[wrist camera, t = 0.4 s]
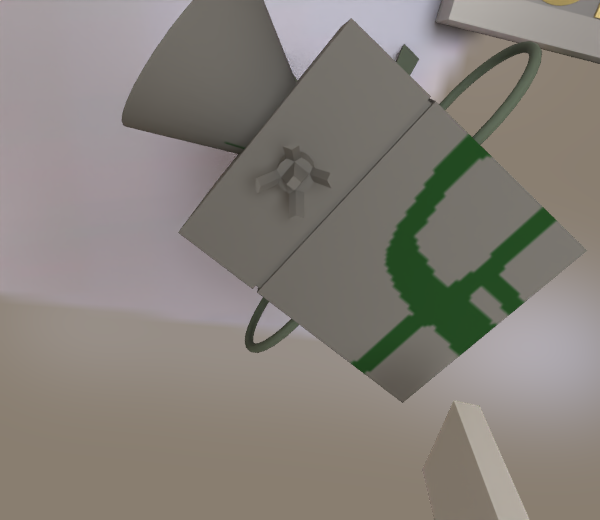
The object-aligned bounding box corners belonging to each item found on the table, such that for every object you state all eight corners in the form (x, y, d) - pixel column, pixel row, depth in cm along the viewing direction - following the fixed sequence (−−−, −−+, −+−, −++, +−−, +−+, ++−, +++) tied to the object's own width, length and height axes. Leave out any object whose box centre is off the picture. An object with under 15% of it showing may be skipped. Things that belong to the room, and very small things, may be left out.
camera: (485, 111, 36) (772, 222, 13) (343, 255, 41) (373, 516, 18) (327, -50, 33) (347, -277, 10) (192, 130, 38) (-6, 263, 15)
